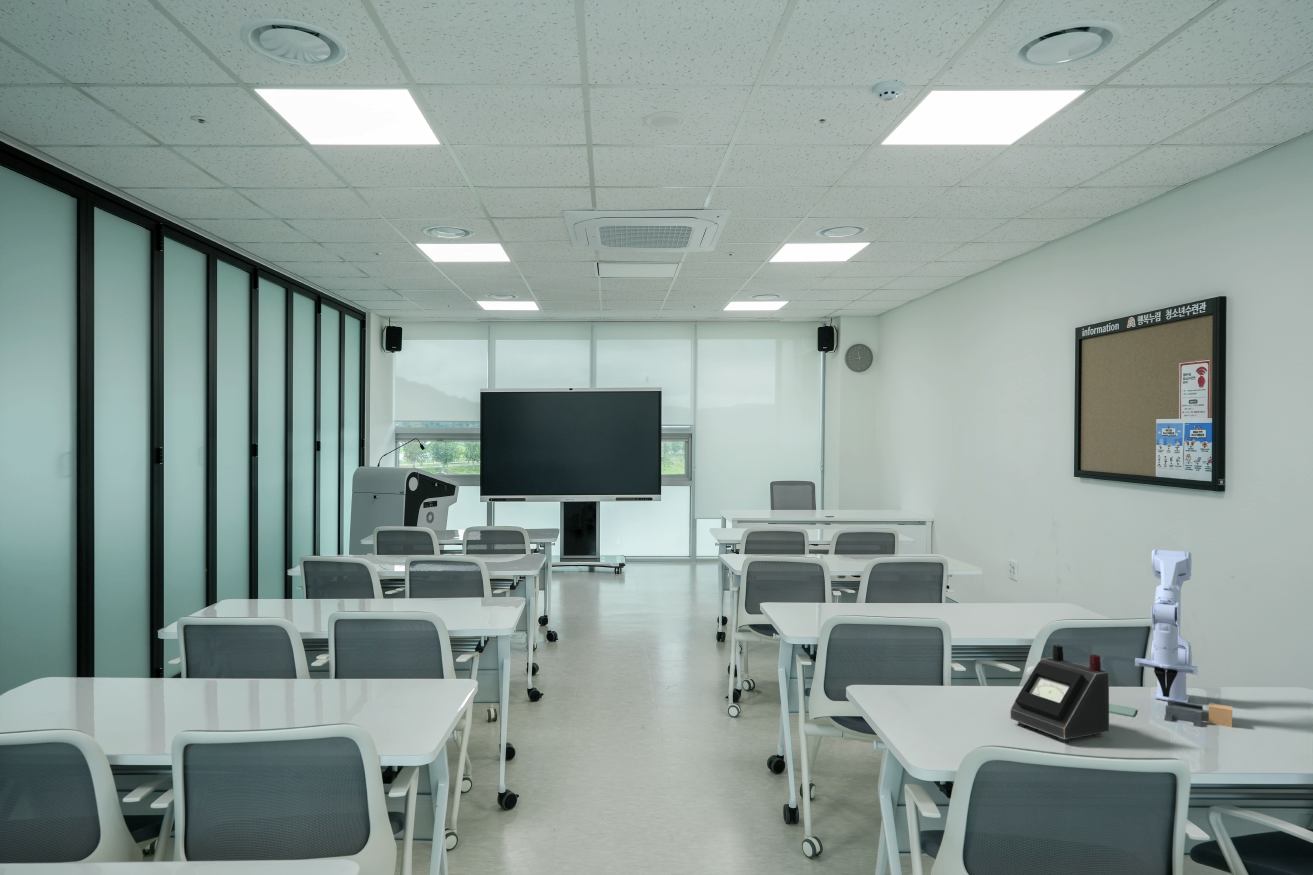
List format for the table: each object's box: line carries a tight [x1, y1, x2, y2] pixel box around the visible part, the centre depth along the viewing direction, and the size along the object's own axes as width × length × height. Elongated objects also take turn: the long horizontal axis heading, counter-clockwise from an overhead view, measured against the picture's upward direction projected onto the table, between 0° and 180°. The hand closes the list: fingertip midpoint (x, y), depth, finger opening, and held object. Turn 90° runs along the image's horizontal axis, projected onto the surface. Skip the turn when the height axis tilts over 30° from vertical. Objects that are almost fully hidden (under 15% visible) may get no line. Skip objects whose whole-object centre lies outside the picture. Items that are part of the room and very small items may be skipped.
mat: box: [1109, 703, 1137, 718], centre depth 213 cm, size 8×8×1 cm
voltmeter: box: [1009, 644, 1110, 743], centre depth 196 cm, size 16×16×20 cm
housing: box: [1164, 699, 1204, 728], centre depth 209 cm, size 15×8×3 cm, turn 142°
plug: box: [1174, 702, 1233, 728], centre depth 206 cm, size 4×13×4 cm, turn 52°
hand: (1166, 695), depth 212 cm, fingers closed
